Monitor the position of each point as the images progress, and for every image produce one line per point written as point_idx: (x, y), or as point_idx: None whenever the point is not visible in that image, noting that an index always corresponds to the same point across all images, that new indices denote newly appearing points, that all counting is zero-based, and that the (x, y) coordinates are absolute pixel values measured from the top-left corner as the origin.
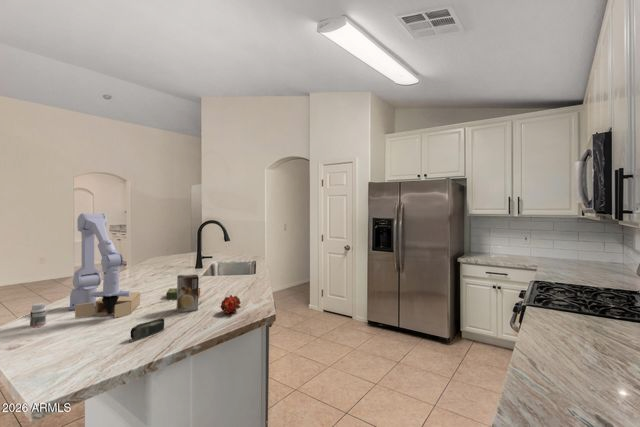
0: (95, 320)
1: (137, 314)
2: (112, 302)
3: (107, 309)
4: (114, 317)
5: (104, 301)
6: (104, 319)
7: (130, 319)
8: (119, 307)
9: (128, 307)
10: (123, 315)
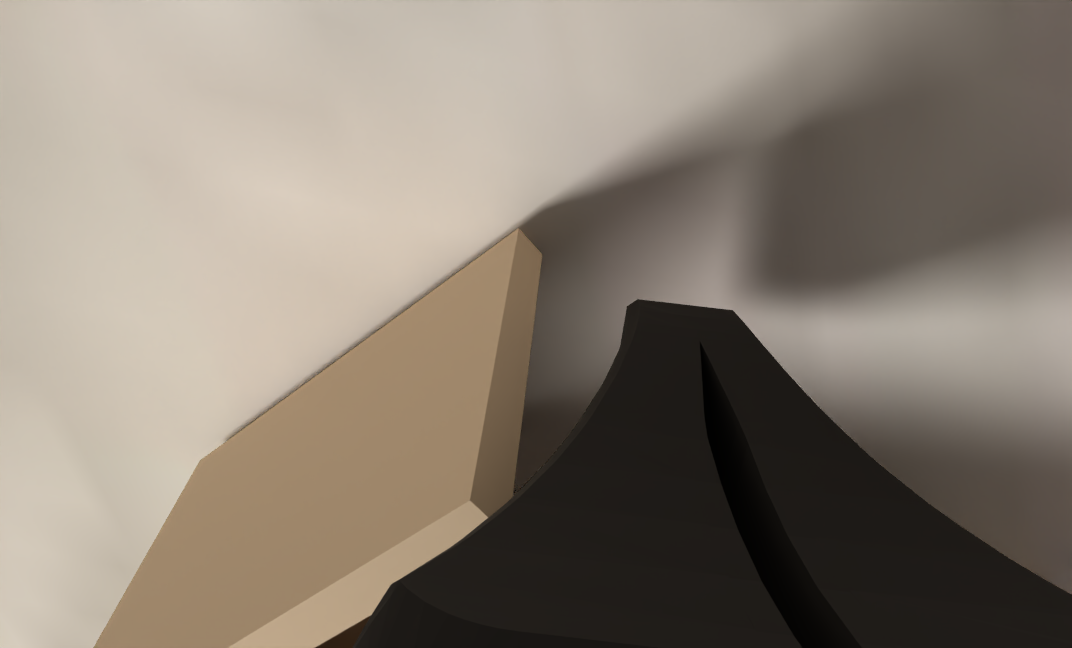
0: (1046, 169)
1: (23, 414)
2: (554, 536)
3: (768, 383)
4: (526, 240)
5: (1056, 632)
6: (795, 203)
7: (11, 19)
8: (354, 487)
9: (161, 580)
10: (329, 369)
